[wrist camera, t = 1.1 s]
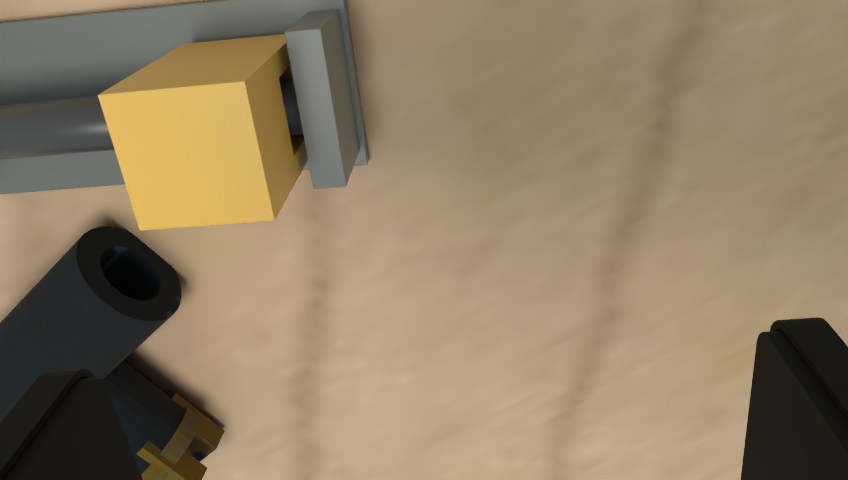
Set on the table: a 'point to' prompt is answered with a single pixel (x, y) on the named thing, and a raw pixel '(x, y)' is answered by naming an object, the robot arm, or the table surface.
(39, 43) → the grey slider rail base
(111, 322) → the pipe connector
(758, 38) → the table surface
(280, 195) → the yellow sliding block
